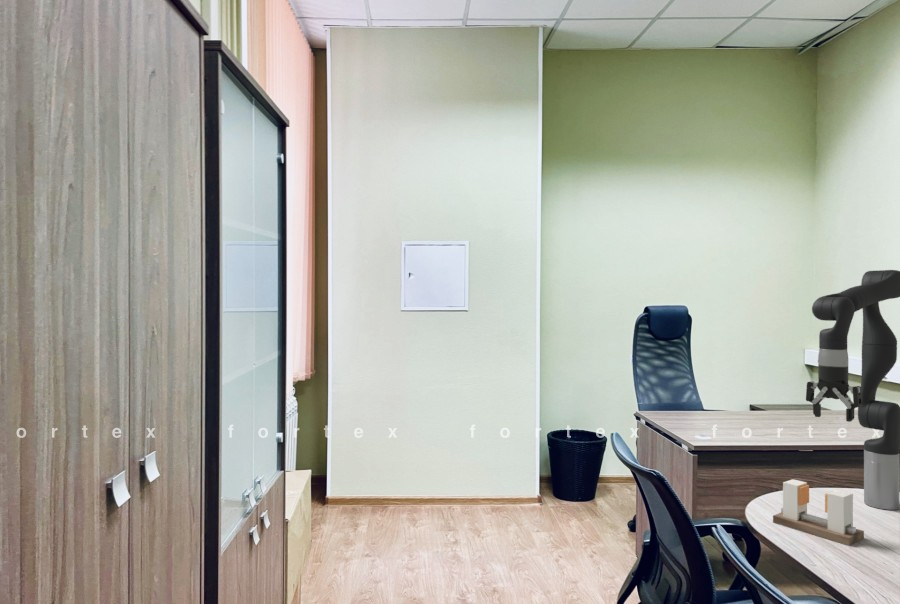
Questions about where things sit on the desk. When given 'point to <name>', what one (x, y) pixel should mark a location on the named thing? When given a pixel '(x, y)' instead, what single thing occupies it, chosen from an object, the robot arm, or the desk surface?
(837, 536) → the rail
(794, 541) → the desk surface
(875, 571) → the desk surface
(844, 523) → the white block with pad
